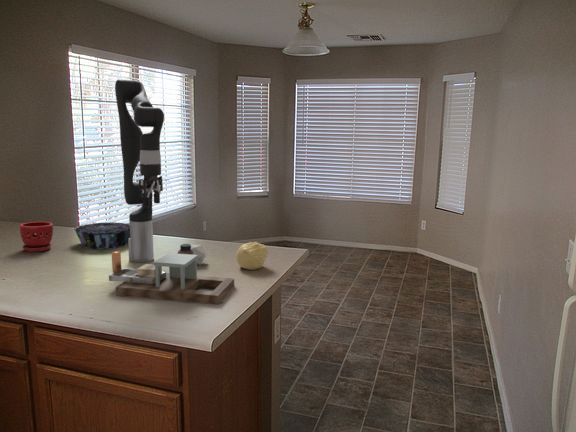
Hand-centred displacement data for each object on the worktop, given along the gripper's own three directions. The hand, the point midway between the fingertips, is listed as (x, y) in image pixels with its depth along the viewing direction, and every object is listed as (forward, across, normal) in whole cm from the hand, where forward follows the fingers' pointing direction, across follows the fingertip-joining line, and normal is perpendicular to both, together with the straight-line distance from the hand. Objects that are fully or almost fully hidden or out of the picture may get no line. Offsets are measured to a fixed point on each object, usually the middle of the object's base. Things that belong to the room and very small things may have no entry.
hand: (151, 205), depth 180 cm
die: (+27, -16, +11) cm, 34 cm away
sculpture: (+27, -17, +35) cm, 47 cm away
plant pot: (+28, -19, -66) cm, 75 cm away
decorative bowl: (+29, -36, -43) cm, 63 cm away
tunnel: (+23, +16, +17) cm, 33 cm away
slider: (+23, +17, +2) cm, 29 cm away
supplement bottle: (+27, -3, +12) cm, 30 cm away
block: (+24, +17, +7) cm, 30 cm away
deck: (+26, +16, +17) cm, 36 cm away
